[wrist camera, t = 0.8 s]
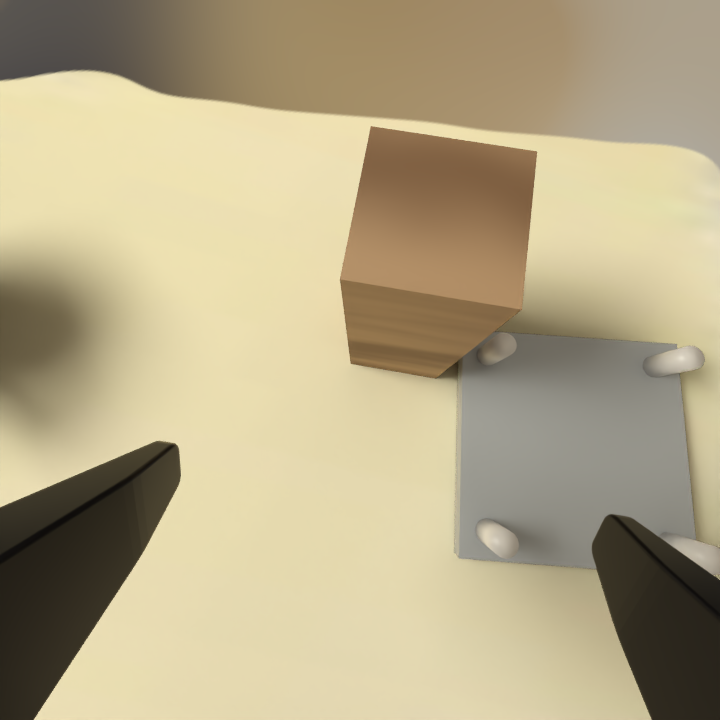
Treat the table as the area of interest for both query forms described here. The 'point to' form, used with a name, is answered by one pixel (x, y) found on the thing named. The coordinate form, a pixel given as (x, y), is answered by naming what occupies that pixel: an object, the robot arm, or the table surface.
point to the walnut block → (434, 249)
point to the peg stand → (571, 447)
